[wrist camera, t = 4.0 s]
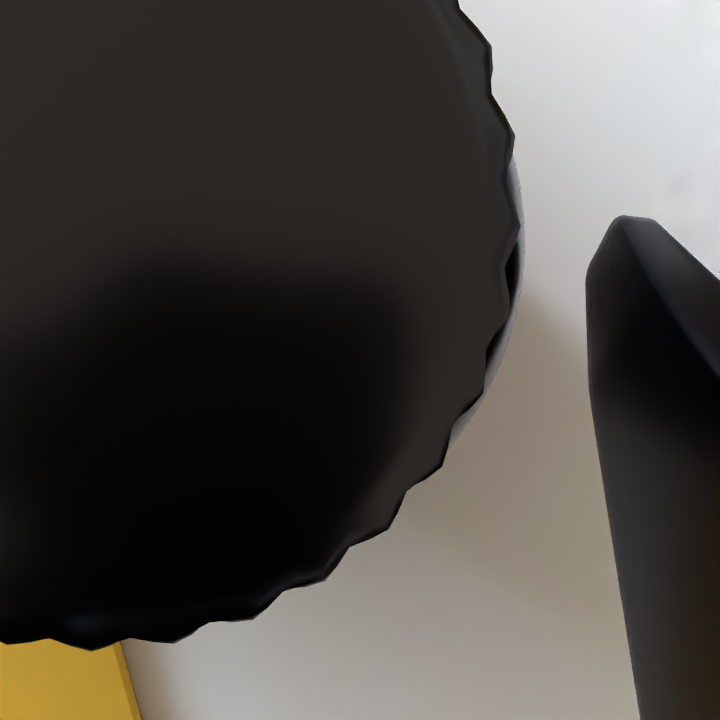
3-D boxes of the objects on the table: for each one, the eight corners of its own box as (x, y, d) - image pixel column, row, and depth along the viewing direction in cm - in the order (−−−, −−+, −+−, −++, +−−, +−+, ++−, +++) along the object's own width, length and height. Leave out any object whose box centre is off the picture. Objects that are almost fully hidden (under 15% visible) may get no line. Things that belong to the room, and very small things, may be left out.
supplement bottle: (324, 45, 15) (317, -892, 3) (478, 314, 16) (952, 436, 4) (56, 209, 15) (-988, -47, 3) (224, 467, 16) (-81, 1043, 4)
